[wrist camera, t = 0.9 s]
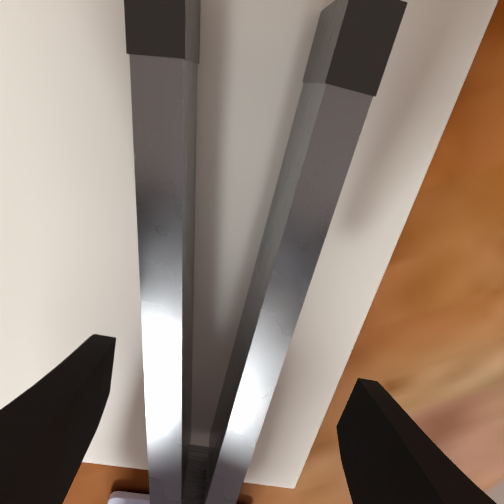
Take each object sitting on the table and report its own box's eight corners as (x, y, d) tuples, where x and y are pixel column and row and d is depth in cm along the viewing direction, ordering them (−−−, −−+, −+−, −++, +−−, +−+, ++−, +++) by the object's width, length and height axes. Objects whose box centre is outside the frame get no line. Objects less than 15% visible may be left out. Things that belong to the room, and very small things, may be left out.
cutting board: (291, 471, 21) (294, 488, 21) (5, 433, 20) (-6, 450, 19) (500, -48, 12) (522, -58, 11) (-9, -215, 10) (-33, -244, 9)
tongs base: (222, 478, 20) (219, 566, 16) (159, 470, 20) (142, 558, 16) (360, 23, 12) (414, -1, 8) (258, -7, 12) (267, -46, 8)
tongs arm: (192, 436, 18) (182, 513, 15) (164, 435, 18) (148, 512, 15) (200, -13, 11) (186, -50, 8) (155, -17, 11) (121, -57, 8)
